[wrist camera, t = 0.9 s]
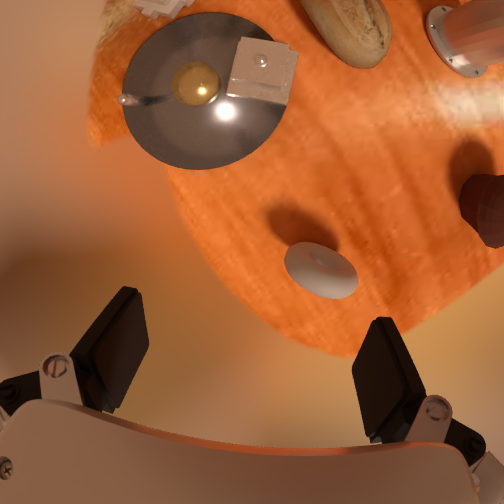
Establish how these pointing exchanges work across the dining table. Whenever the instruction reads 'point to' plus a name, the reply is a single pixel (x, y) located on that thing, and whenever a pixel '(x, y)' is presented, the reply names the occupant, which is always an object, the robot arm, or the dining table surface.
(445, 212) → the dining table surface
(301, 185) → the dining table surface
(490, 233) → the muffin
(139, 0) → the hollow square tube block
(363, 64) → the bread roll
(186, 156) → the carrier
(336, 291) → the donut
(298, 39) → the dining table surface
